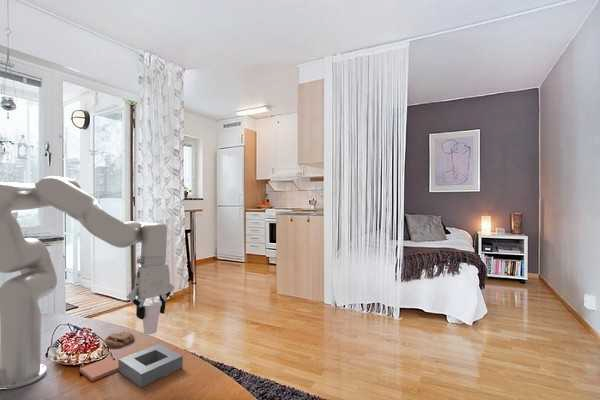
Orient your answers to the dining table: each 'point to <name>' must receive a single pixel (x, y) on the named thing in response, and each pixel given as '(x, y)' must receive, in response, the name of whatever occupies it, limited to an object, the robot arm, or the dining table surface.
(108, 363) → the pad
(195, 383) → the dining table surface
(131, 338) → the cookie
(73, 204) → the robot arm
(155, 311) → the smoothie
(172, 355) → the box
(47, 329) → the dining table surface
